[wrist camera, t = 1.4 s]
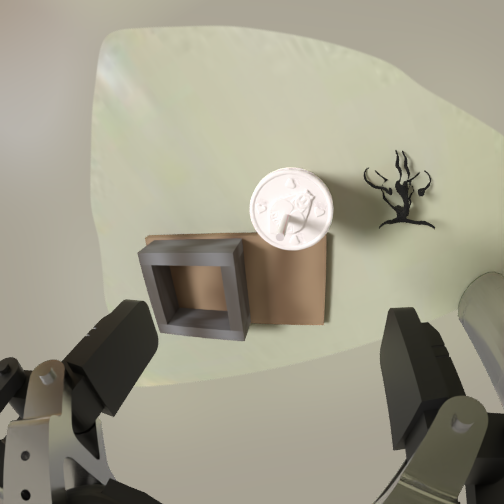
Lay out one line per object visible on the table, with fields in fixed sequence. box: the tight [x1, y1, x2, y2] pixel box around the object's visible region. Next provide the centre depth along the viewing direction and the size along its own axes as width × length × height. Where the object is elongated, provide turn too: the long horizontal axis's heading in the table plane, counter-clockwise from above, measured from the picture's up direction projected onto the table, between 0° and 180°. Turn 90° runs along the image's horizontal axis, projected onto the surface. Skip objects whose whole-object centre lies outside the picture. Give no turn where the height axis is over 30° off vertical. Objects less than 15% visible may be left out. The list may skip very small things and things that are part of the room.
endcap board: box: [138, 233, 326, 341], centre depth 33 cm, size 22×12×5 cm, turn 95°
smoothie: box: [250, 167, 334, 250], centre depth 23 cm, size 6×6×14 cm
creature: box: [364, 150, 435, 229], centre depth 25 cm, size 8×5×8 cm
